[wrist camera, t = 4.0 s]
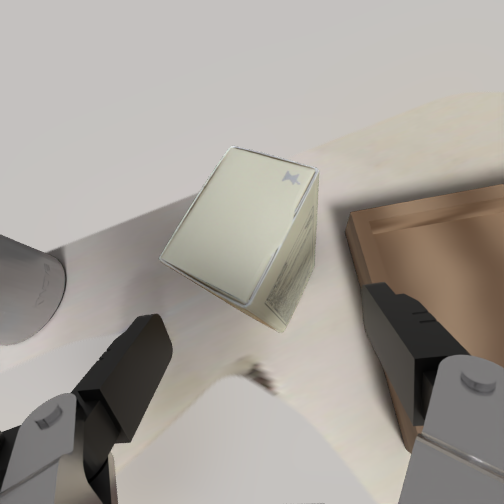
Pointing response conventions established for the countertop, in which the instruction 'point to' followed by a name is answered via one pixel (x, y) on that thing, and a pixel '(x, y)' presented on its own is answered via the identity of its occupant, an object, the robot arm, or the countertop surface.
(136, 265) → the countertop surface
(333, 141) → the countertop surface
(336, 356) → the countertop surface
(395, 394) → the walnut tray
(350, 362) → the countertop surface
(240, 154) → the skincare box
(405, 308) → the robot arm
